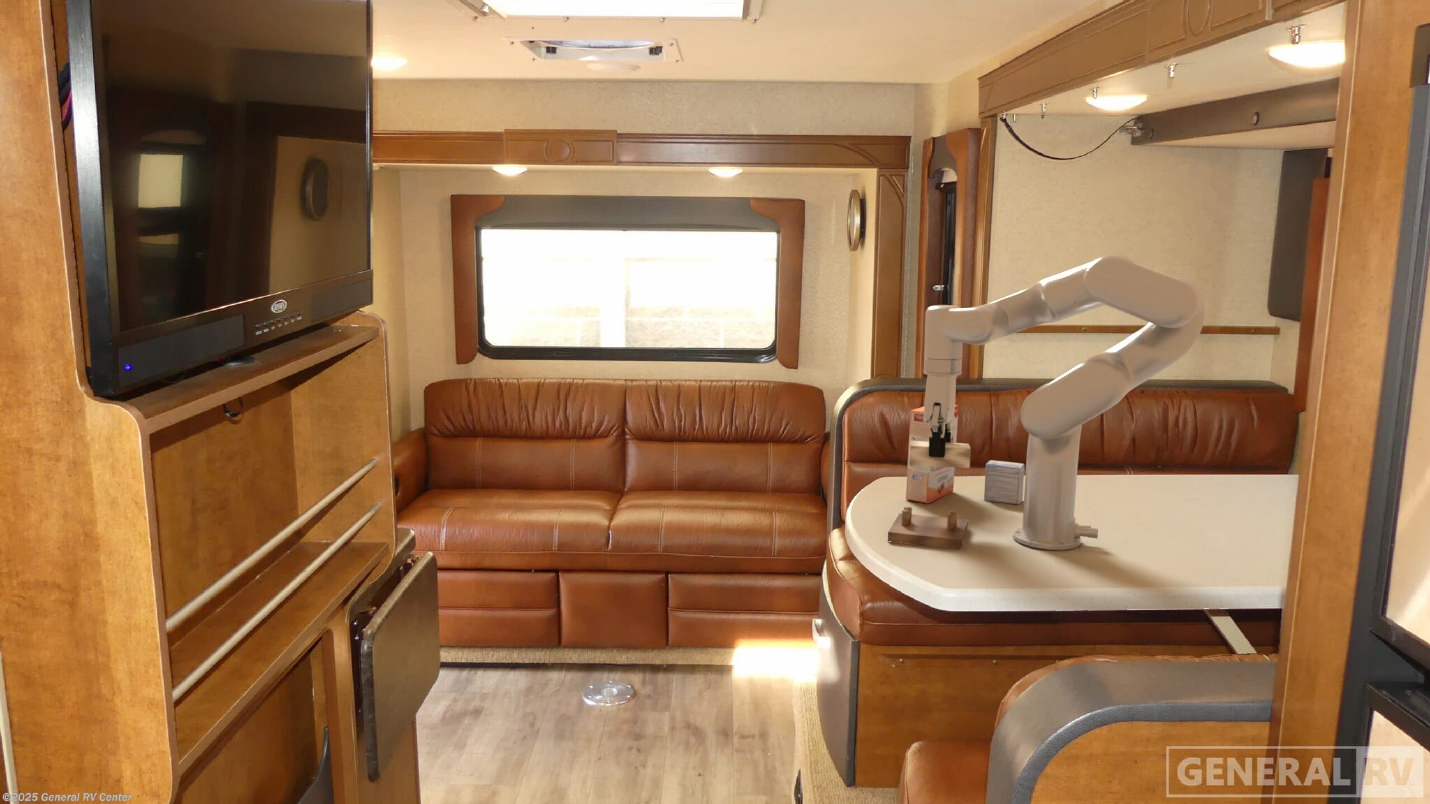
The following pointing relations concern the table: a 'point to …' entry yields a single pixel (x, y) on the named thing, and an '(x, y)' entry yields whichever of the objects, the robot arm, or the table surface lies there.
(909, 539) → the peg board
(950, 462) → the beige wooden block
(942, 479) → the cracker box
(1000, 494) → the medicine box
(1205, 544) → the table surface
